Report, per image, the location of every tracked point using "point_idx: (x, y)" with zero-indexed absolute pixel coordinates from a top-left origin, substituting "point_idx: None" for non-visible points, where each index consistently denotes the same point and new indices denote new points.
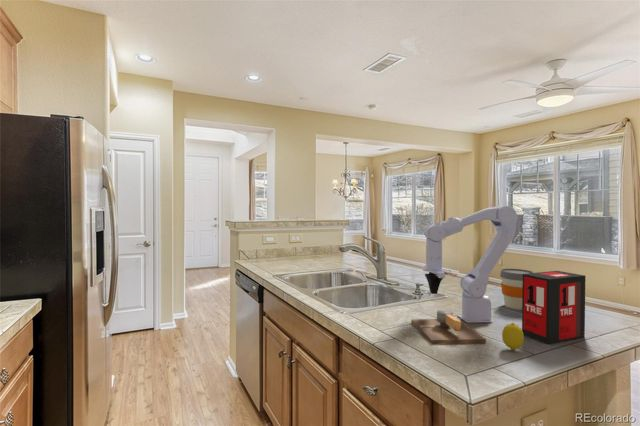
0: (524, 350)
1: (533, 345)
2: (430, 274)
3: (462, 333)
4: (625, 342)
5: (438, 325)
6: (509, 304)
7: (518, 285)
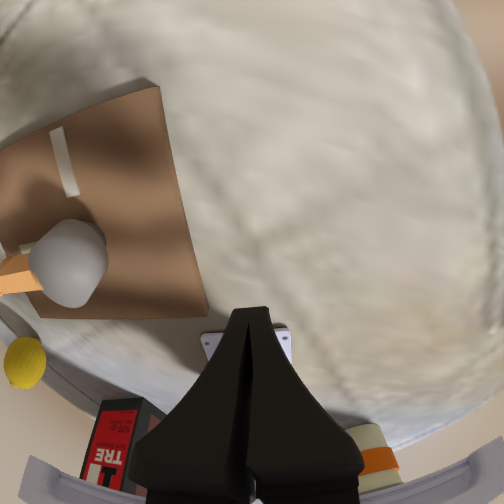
0: (49, 356)
1: (84, 381)
2: (274, 493)
3: None
4: None
5: (91, 215)
6: (351, 435)
7: None
